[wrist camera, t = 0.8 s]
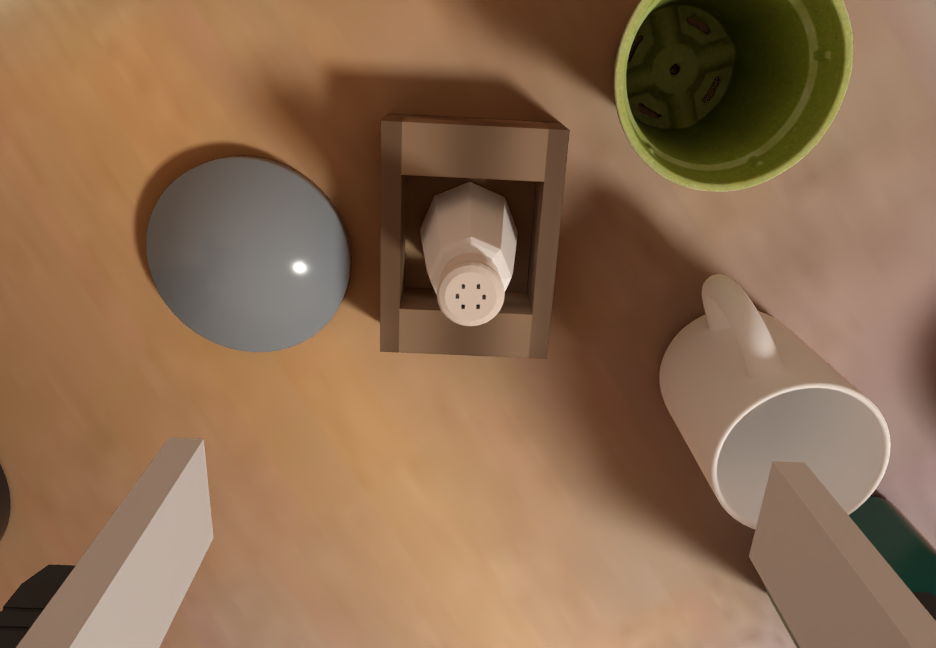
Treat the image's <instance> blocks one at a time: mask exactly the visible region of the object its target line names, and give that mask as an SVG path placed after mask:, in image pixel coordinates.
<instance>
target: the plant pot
mask: <svg viewBox="0 0 936 648" xmlns="http://www.w3.org/2000/svg"><path fill="white" fill-rule="evenodd" d="M689 17H696V18H698V19H700V20H701V21H703V22H704V23H706V24H707V25H708V27H709V28H710V33H709V34H705V33H704V32H703V31H701V30H700V29H699V28H697V27H696V26H694V25H691V24H688V23H687V21H686V19H687V18H689ZM639 35H641V36H643V39H642V40H641V41H640V43H639V45H638V46H637V48H636V50H635V52H634V54H633V56H632V59H631V61H628V57H629V53H630V49H631V46H632V43H633V41H634V39H635V37H637V36H639ZM852 60H853V35H852V27H851V23H850V19H849V15H848V12H847V9H846V6H845V3H844V1H843V0H641V1H640V2H639V3H638V5H637V6H636V8H635V10H634V11H633V13H632V15H631V17H630V19H629V21H628V23H627V25H626V28H625V30H624V32H623V35H622V38H621V41H620V44H619V48H618V51H617V55H616V59H615V63H614V96H615V103H616V109H617V114H618V117H619V120H620V123H621V126H622V129H623V131H624V133H625V135H626V137H627V139H628V141H629V143H630V144H631V146H632V147H633V149H634V150H635V151H636V153H637V154H638V155H639V156H640V158H641V159H642V160H643V161H644V162H645V163H646V164H647V165H648V166H650V167H651V168H652V169H653V170H654V171H656V172H657V173H658V174H660V175H661V176H663V177H664V178H666V179H668V180H670V181H672V182H674V183H676V184H679V185H681V186H684V187H687V188H690V189H695V190H701V191H712V192H726V191H735V190H741V189H745V188H749V187H753V186H755V185H758V184H761V183H764V182H766V181H768V180H770V179H772V178H774V177H776V176H778V175H779V174H781V173H783V172H784V171H786V170H787V169H789V168H790V167H792V166H793V165H795V164H796V163H797V162H798V161H800V160H801V159H802V158H803V157H804V156H806V155H807V154H808V153H809V152H810V151H811V150H812V148H814V147H815V145H816V144H817V143H818V142H819V141H820V139H821V138H822V137H823V135H824V134H825V132H826V131H827V129H828V128H829V126H830V125H831V124H832V122H833V120H834V118H835V117H836V115H837V113H838V111H839V109H840V106H841V104H842V101H843V99H844V96H845V94H846V91H847V88H848V85H849V81H850V76H851V72H852ZM674 64H678V65H679V67H680V71H679V72H678V73H677V74H675V75H672V74H671V73H670V68H671V66H673V65H674ZM717 77H719V80H720V83H719V85H718V86H717V88H716V90H715V93H714V95H713V97H712V98H711V99H710V100H709V101H708V102H707V103H703V100H702V99H703V98H704V96H705V95H706V93H707V92H708V91H709V89H710V87H711V86H712V84H713V82H714V79H715V78H717ZM640 103H642V104H644V105H645V106H646V107H648V108H649V109H650V110H652V111H654V112H657V114H661V117H659V118H653V117H649V116H647V115H645V114H643V113H642V112H640V111H639V109H638V105H639V104H640Z"/></svg>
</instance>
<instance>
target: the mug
mask: <svg viewBox="0 0 936 648" xmlns="http://www.w3.org/2000/svg"><path fill="white" fill-rule="evenodd" d="M702 301H703V306H704V310H705V315H703V316H701V317H699V318H697V319H695V320H694V321H692V322H691V323H689V324H688V325H686V326H685V327H684V328H683V329H682V330H681V331H680V332H679V333H678V334H677V335H676V336H675V337H674V339H673V340H672V342H671V343H670V344H669V346H668V348H667V350H666V352H665V354H664V356H663V359H662V362H661V367H660V374H659V381H660V389H661V393H662V397H663V400H664V402H665V405H666V407H667V409H668V411H669V413H670V415H671V417H672V418H673V420H674V422H675V424H676V426H677V427H678V429H679V431H680V433H681V435H682V436H683V438H684V440H685V442H686V444H687V445H688V447H689V449H690V451H691V453H692V454H693V456H694V458H695V460H696V462H697V463H698V465H699V467H700V469H701V471H702V472H703V474H704V476H705V478H706V480H707V481H708V483H709V485H710V487H711V489H712V490H713V492H714V494H715V496H716V498H717V499H718V501H719V503H720V504H721V506H722V507H723V508H724V509H725V510H726V512H727V513H728V514H730V515H731V516H732V517H733V518H734V519H736V520H737V521H739V522H740V523H742V524H744V525H746V526H748V527H750V528H752V529H755V530H756V526H757V522H758V518H759V514H760V510H761V506H762V501H763V497H764V493H765V489H766V485H767V481H768V477H769V473H770V469H771V465H772V461H778V462H803V463H806V465H807V466H808V467H809V468H810V469H811V471H812V472H813V473H814V474H815V476H816V477H817V478H818V479H819V480H820V482H821V483H822V484H823V485H824V486H825V488H826V489H827V490H828V491H829V492H830V494H831V495H832V496H833V497H834V499H835V500H836V501H837V502H838V503H839V505H840V506H841V507H842V508H843V509H844V511H845V512H846V513H847V514H848V515H849V514H851V513H852V512H853V511H855V510H856V509H857V508H859V507H860V506H861V505H862V504H863V503H864V502H865V501H866V500H867V499H868V498H869V497H870V495H871V494H872V493H873V492H874V491H875V489H876V488H877V486H878V485H879V483H880V481H881V479H882V478H883V476H884V474H885V471H886V468H887V465H888V461H889V457H890V446H891V443H890V434H889V431H888V427H887V424H886V422H885V419H884V417H883V415H882V414H881V412H880V411H879V409H878V408H877V407H876V406H875V405H874V404H873V403H872V402H871V401H870V400H869V399H868V398H867V397H866V396H865V395H864V394H863V393H861V392H860V391H859V390H858V389H857V388H856V387H855V386H854V385H852V384H851V383H850V382H849V381H848V380H847V379H846V378H844V377H843V376H842V375H841V374H840V373H839V372H838V371H836V370H835V369H834V368H833V367H832V366H831V365H830V364H828V363H827V362H826V361H825V360H824V359H823V358H822V357H821V356H819V355H818V354H817V353H816V352H815V351H814V350H813V349H811V348H810V347H809V346H808V345H807V344H806V343H805V342H803V341H802V340H801V339H800V338H799V337H798V336H797V335H796V334H794V333H793V332H792V331H791V330H790V329H789V328H787V327H786V326H785V325H783V324H782V323H781V322H779V321H778V320H777V319H775V318H773V317H771V316H769V315H767V314H765V313H762V312H760V311H757V309H756V307H755V306H754V304H753V303H752V301H751V300H750V298H749V297H748V296H747V294H746V293H745V292H744V290H743V289H742V288H741V287H740V286H739V285H738V284H737V283H736V282H735V281H734V280H732V279H731V278H729V277H728V276H725V275H721V274H717V275H712V276H710V277H709V278H707V279H706V281H705V282H704V284H703V287H702Z"/></svg>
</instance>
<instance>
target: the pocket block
mask: <svg viewBox="0 0 936 648" xmlns="http://www.w3.org/2000/svg"><path fill="white" fill-rule="evenodd" d="M569 132H570V130H569V129H568V128H566V127H565V126H564V125H563V124H561V123H560V122H540V121H520V120H500V119H481V118H461V117H441V116H421V115H401V114H388V115H387V116H385V117H384V118H383V119H382V120H381V260H380V352H401V353H425V354H449V355H472V356H496V357H519V358H543V359H547V353H548V343H549V333H550V323H551V313H552V303H553V292H554V282H555V272H556V262H557V252H558V242H559V232H560V222H561V212H562V202H563V192H564V182H565V172H566V162H567V152H568V142H569ZM406 175H416V176H437V177H457V178H478V179H499V180H519V181H536V190H535V202H534V214H533V225H532V237H531V249H530V261H529V273H528V284H527V293H519V292H505V297H504V302H503V305H502V307H501V309H500V311H499V312H498V314H497V315H496V316H495V317H494V318H493V319H491V320H490V321H488V322H487V323H484V324H481V325H478V326H464V325H460V324H457V323H455V322H453V321H451V320H450V319H449V318H447V317H446V316H445V315H444V313H443V312H442V311H441V309H440V307H439V304H438V301H437V295H436V293H435V290H434V289H429V288H407V287H405V234H406Z"/></svg>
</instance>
